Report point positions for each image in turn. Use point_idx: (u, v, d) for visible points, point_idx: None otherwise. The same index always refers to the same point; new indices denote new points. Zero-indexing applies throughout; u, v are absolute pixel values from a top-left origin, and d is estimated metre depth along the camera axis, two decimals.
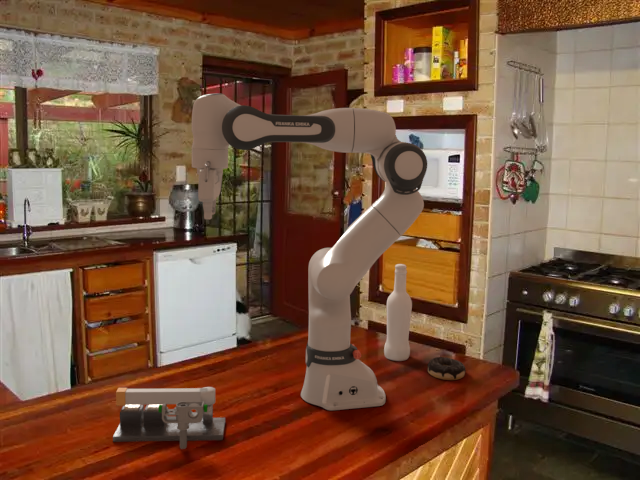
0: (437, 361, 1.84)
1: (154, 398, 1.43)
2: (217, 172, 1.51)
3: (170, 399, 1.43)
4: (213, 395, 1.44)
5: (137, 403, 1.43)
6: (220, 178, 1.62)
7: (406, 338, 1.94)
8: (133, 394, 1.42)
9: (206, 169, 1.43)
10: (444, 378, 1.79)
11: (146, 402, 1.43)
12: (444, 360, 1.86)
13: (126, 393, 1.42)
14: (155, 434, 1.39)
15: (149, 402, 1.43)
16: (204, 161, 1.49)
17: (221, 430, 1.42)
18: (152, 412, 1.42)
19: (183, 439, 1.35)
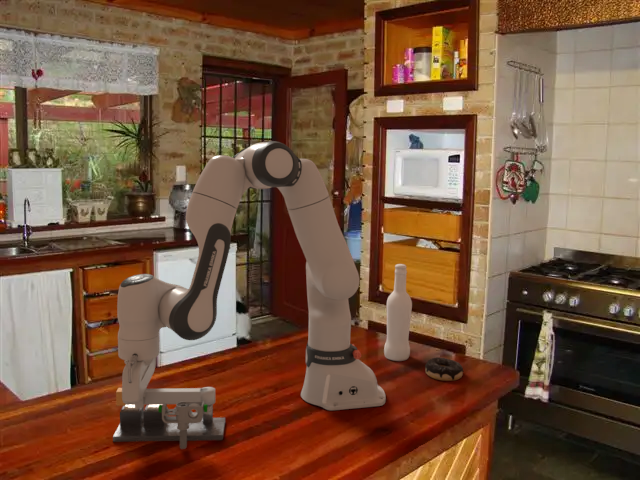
0: (435, 362, 1.84)
1: (154, 398, 1.43)
2: (146, 362, 1.37)
3: (170, 399, 1.43)
4: (213, 395, 1.44)
5: None
6: None
7: (406, 338, 1.94)
8: None
9: (130, 370, 1.29)
10: (442, 379, 1.78)
11: (146, 402, 1.43)
12: (441, 361, 1.86)
13: None
14: (155, 434, 1.39)
15: (149, 402, 1.43)
16: (130, 353, 1.34)
17: (221, 430, 1.42)
18: (152, 412, 1.42)
19: (183, 439, 1.35)
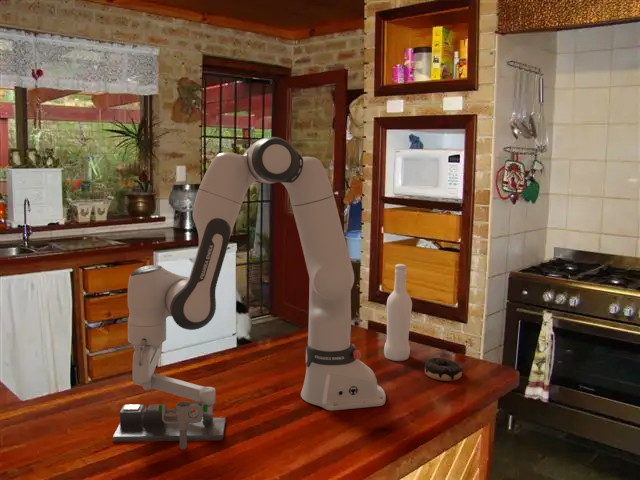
0: (434, 362, 1.84)
1: (166, 386, 1.50)
2: (154, 347, 1.47)
3: (177, 391, 1.48)
4: (209, 396, 1.43)
5: (154, 388, 1.52)
6: None
7: (406, 338, 1.94)
8: None
9: (140, 353, 1.39)
10: (441, 379, 1.78)
11: (160, 388, 1.51)
12: (441, 361, 1.85)
13: None
14: (155, 434, 1.39)
15: (162, 389, 1.50)
16: (140, 338, 1.44)
17: (221, 430, 1.42)
18: (152, 412, 1.42)
19: (183, 439, 1.35)
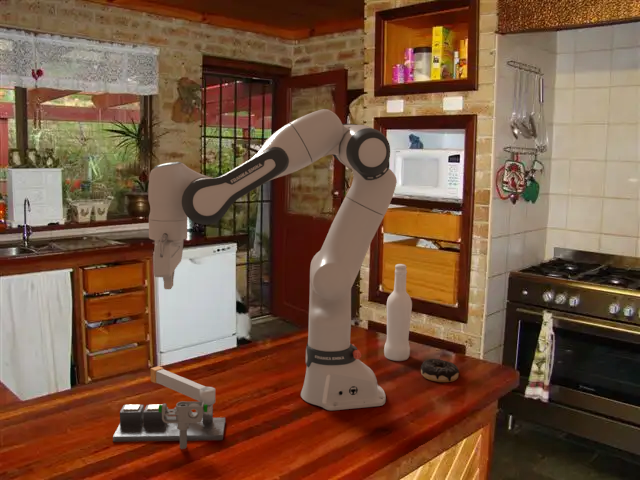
0: (430, 363, 1.82)
1: (172, 383, 1.52)
2: (175, 243, 1.45)
3: (181, 388, 1.49)
4: (208, 396, 1.43)
5: (162, 384, 1.54)
6: (181, 245, 1.56)
7: (406, 338, 1.94)
8: (160, 375, 1.54)
9: (162, 244, 1.37)
10: (439, 380, 1.77)
11: (167, 385, 1.53)
12: (437, 362, 1.84)
13: (156, 372, 1.55)
14: (155, 434, 1.39)
15: (169, 386, 1.52)
16: (161, 233, 1.43)
17: (221, 430, 1.42)
18: (152, 412, 1.42)
19: (183, 439, 1.35)
